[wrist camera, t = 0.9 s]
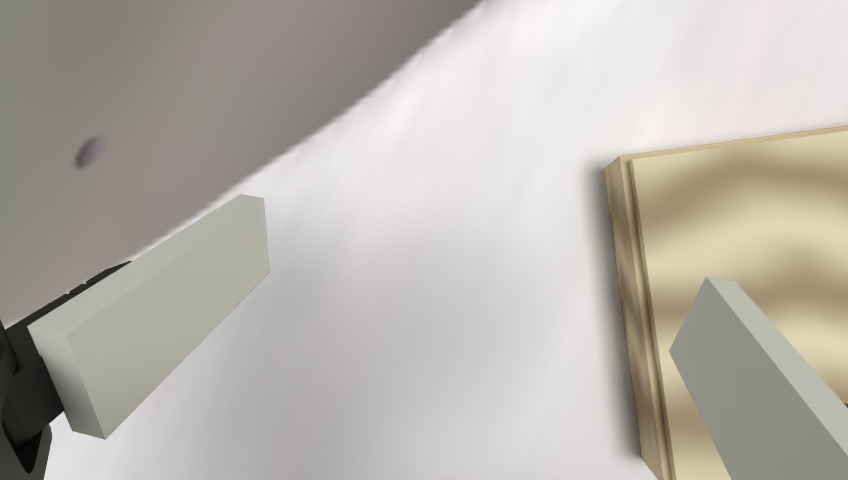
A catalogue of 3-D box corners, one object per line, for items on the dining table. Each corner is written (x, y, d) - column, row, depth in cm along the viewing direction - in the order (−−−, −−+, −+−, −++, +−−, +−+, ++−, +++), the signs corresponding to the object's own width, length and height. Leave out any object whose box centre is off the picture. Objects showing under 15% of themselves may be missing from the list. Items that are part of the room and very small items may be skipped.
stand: (994, 449, 28) (1102, 489, 23) (642, 459, 31) (670, 495, 26) (932, 126, 29) (1021, 99, 24) (603, 169, 33) (623, 153, 28)
